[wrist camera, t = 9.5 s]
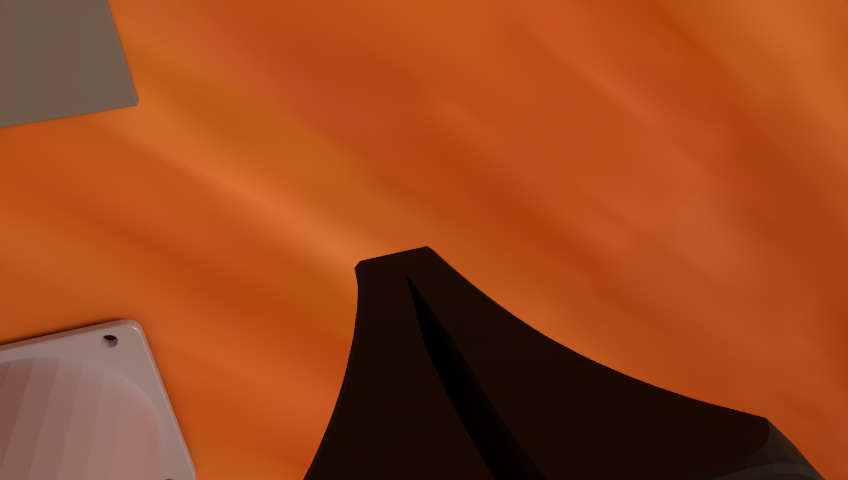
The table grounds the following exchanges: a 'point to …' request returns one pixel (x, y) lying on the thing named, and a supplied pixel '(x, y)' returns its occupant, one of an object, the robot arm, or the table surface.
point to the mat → (60, 61)
